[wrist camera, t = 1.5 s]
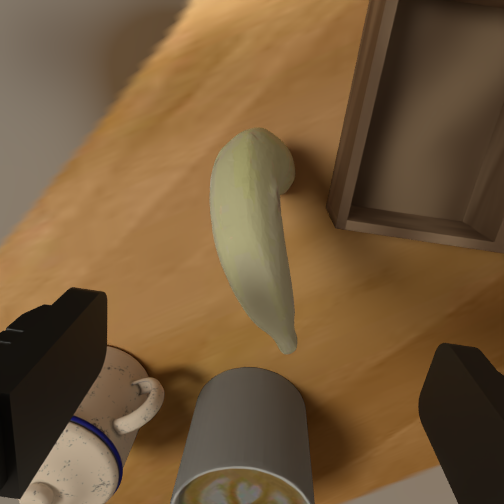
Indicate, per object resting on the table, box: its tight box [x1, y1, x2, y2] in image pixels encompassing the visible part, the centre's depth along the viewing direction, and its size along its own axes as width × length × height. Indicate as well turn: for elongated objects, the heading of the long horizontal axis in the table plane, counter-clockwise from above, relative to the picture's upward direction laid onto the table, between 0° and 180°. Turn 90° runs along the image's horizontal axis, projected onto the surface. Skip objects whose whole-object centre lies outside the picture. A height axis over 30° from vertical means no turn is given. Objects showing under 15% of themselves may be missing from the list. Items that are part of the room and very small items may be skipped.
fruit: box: [210, 128, 297, 354], centre depth 21 cm, size 7×15×3 cm
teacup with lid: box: [17, 346, 164, 504], centre depth 30 cm, size 12×9×12 cm
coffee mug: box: [170, 367, 315, 504], centre depth 32 cm, size 13×10×10 cm
